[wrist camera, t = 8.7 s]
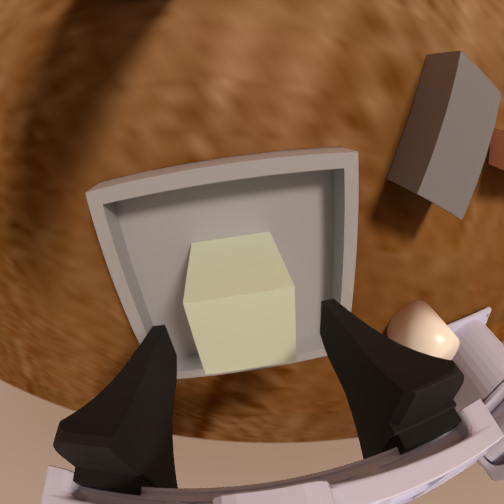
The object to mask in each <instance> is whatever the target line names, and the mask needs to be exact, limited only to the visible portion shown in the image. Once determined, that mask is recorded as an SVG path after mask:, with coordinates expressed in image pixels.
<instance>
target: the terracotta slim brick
mask: <svg viewBox="0 0 504 504" xmlns="http://www.w3.org/2000/svg"><path fill="white" fill-rule="evenodd" d="M488 164H489V165H492V166H494V167H497V168H500V169H502V170H504V131H503V130H499V129H495V128H494V130H493V133H492V137H491V141H490V151H489V162H488Z"/></svg>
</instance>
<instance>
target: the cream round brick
mask: <svg viewBox="0 0 504 504" xmlns="http://www.w3.org/2000/svg"><path fill="white" fill-rule="evenodd" d="M387 336H388V338H390V339H391V340H393V341H395V342H397V343H399V344H401V345H404V346H406V347H408V348H411V349H413V350H416V351H418V352H421V353H424V354H427V355H431V356H434V357H438V358H442V359H447V360H452V358H453V357H454V356H455V354H456V352H457V350H458V348H459V339H458V338H457V336H456V335H455V334H454V333H453V332H452V331H451V329H450V328H449V327H448V326H447V325H446V324H445V323H444V321H443V320H442V319H441V318H440V317H439V316H438V315H437V314H436V313H435V311H434V310H433V309H432V308H431V307H430V306H429V305H428V304H427V303H426V302H425V301H423V300H415V301H412V302H410V303H408V304H406V305H404V306H403V307H402V308H400V309H399V310H398V311H397V312H396V313H395V314H394V316H393V317H392V319H391V320H390V322H389V324H388V327H387Z"/></svg>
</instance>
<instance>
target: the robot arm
mask: <svg viewBox="0 0 504 504" xmlns="http://www.w3.org/2000/svg"><path fill="white" fill-rule="evenodd" d="M490 312H491V308H490V307H487V308H485V309H483V310H481V311H478V312H476V313H474V314H472V315H469V316H467V317H465V318H462V319H460V320H457V321H455V322H452V323H450V324H447V326H448V327H449V328H450V329H451V331H452V332H453V333H454V334H455V335H456V336H457V338H458V339H459V348H458V350H457V352H456V354H455V356H454V357H453V358H452V360H447V359H442V358H438V357H434V356H431V355H427V354H424V353H421V352H418V351H416V350H413V349H411V348H408V347H406V346H404V345H401V344H399V343H397V342H395V341H393V340H391V339H390V338H388V337H386V336H384V335H382V334H381V333H379V332H378V331H376V330H375V329H373V328H371V327H370V326H368V325H367V324H366V323H364V322H363V321H362V320H360V319H359V318H357V317H356V316H355V315H354V314H352V313H351V312H350V311H349V310H347V309H346V308H345V307H344V306H342V305H341V304H340V303H339V302H337V301H336V300H335V299H329V300H324V301H321V321H320V335H321V339H322V342H323V345H324V348H325V351H326V353H327V355H328V357H329V359H330V362H331V364H332V366H333V368H334V370H335V372H336V374H337V376H338V378H339V380H340V382H341V385H342V387H343V389H344V391H345V394H346V397H347V400H348V403H349V406H350V409H351V412H352V416H353V419H354V422H355V426H356V429H357V433H358V437H359V441H360V445H361V450H362V454H363V458H364V459H363V460H360V461H357V462H354V463H351V464H347V465H344V466H341V467H337V468H334V469H330V470H327V471H322V472H318V473H314V474H310V475H306V476H301V477H296V478H291V479H286V480H280V481H274V482H268V483H261V484H253V485H245V486H234V487H222V488H198V489H178V487H177V481H176V474H175V465H174V457H173V456H174V455H173V439H172V413H173V404H174V395H175V387H176V379H177V354H176V352H175V349H174V347H173V344H172V342H171V339H170V336H169V334H168V331H167V328H166V326H165V325H158V326H153V327H152V328H151V329H150V331H149V332H148V334H147V335H146V337H145V338H144V340H143V341H142V343H141V344H140V346H139V347H138V349H137V350H136V351H135V353H134V354H133V356H132V357H131V359H130V360H129V361H128V363H127V364H126V365H125V366H124V368H123V369H122V370H121V372H120V373H119V374H118V375H117V376H116V377H115V378H114V380H113V381H112V382H111V383H110V384H109V385H108V386H107V387H106V388H105V389H104V390H103V391H101V392H100V393H99V394H98V395H97V396H96V397H95V398H94V399H92V400H91V401H90V402H89V403H87V404H86V405H85V406H83V407H82V408H81V409H79V410H78V411H76V412H75V413H73V414H72V415H70V416H68V417H67V418H65V419H63V420H62V421H60V423H59V426H58V429H57V433H56V436H55V439H54V443H53V445H54V446H53V447H54V448H55V450H56V451H57V452H58V453H59V454H60V455H61V456H62V457H64V458H65V459H66V460H67V461H69V462H70V463H71V464H72V465H74V466H75V472H72V471H70V470H67V469H64V468H59V467H55V466H52V465H49V467H48V471H47V476H46V481H45V485H44V490H43V495H42V500H41V504H405V503H407V502H409V501H411V500H413V499H415V498H417V497H419V496H421V495H423V494H425V493H426V492H428V491H430V490H432V489H433V488H435V487H437V486H439V485H441V484H442V483H444V482H446V481H447V480H449V479H450V478H452V477H454V476H455V475H457V474H458V473H460V472H461V471H463V470H465V469H466V468H468V467H469V466H471V465H472V464H474V463H475V462H478V463H479V464H480V465H481V466H482V467H483V468H484V469H485V470H486V472H487V474H488V475H489V477H491V479H492V480H504V345H503V344H502V343H501V342H500V341H499V339H498V338H497V337H496V336H495V335H494V334H493V333H492V332H491V331H490V330H489V329H488V328H487V326H486V325H485V324H486V322H487V320H488V317H489V315H490Z"/></svg>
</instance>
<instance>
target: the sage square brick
mask: <svg viewBox="0 0 504 504" xmlns="http://www.w3.org/2000/svg"><path fill="white" fill-rule="evenodd" d="M183 305H184V309H185V312H186V315H187V319H188V322H189V325H190V328H191V332H192V335H193V338H194V341H195V344H196V347H197V350H198V353H199V356H200V359H201V362H202V365H203V368H204V371H205V374H215V373H223V372H231V371H238V370H245V369H252V368H258V367H264V366H270V365H276V364H282V363H287V362H292V361H296V317H295V286H294V284H293V282H292V279H291V277H290V275H289V273H288V270H287V268H286V266H285V264H284V261H283V259H282V257H281V255H280V253H279V250H278V248H277V246H276V244H275V242H274V239H273V237H272V235H271V233H270V232H264V233H257V234H250V235H243V236H236V237H230V238H223V239H216V240H210V241H203V242H197V243H192V244H191V250H190V256H189V263H188V270H187V277H186V284H185V291H184V298H183Z"/></svg>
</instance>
